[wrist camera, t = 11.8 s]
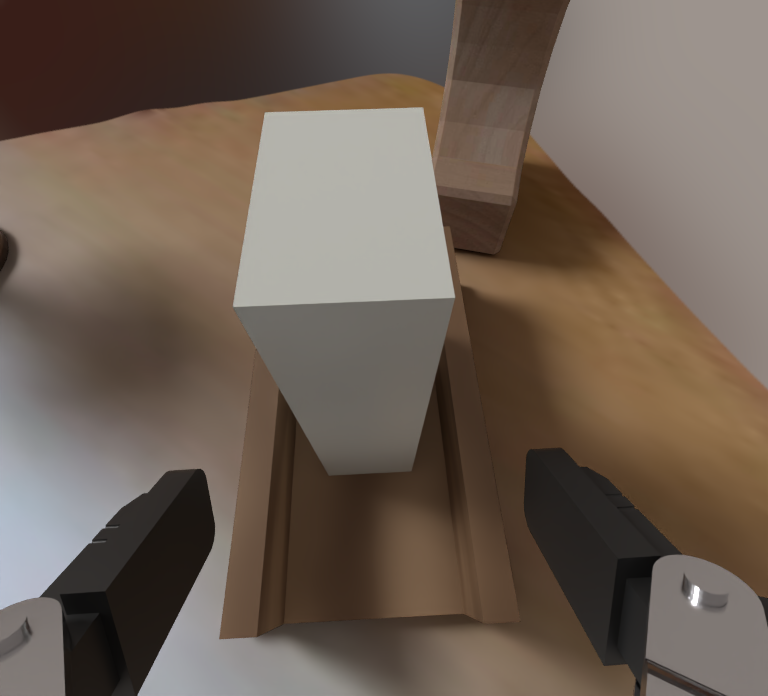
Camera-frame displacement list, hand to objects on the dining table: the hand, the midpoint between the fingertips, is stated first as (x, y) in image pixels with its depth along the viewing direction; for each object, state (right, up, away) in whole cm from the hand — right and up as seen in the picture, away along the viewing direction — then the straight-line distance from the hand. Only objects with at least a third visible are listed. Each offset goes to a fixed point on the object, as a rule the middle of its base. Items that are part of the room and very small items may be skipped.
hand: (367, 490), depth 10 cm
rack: (0, 0, +12) cm, 12 cm away
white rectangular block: (0, 0, +11) cm, 11 cm away
